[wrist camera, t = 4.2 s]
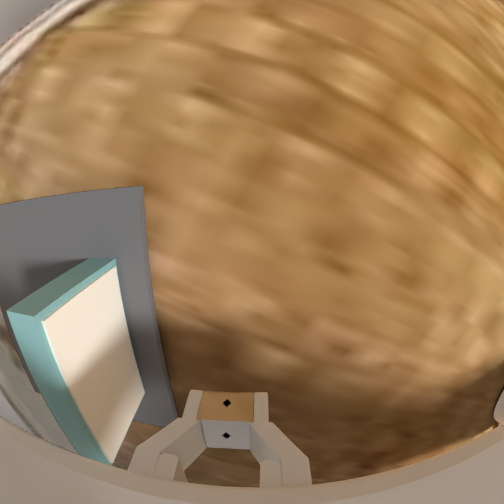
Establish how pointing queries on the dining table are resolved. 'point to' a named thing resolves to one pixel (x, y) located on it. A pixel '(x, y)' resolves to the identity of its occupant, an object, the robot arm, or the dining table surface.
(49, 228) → the mat
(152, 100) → the dining table surface
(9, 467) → the robot arm
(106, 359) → the box
